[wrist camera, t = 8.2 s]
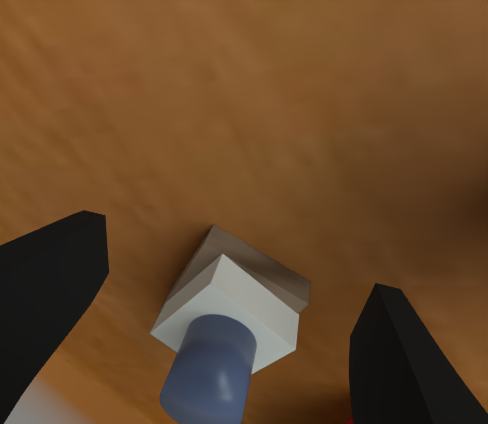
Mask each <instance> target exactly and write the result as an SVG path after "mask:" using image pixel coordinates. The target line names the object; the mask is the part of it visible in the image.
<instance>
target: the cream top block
mask: <svg viewBox="0 0 488 424" xmlns="http://www.w3.org/2000/svg"><path fill="white" fill-rule="evenodd" d="M208 314H218V315H224V316H228V317H231V318H233V319H235V320H237V321H239V322H241V323H242V324H244V325H245V326H246V327H247V328H248V329H249V330H250V331H251V332H252V333H253V335H254V336H255V339H256V342H257V349H256V354H255V359H254V364H253V368H252V373H251V374H253V373H255V372H257V371H258V370H260V369H262V368H264V367H266V366H267V365H269V364H271V363H273V362H275V361H276V360H278V359H280V358H282V357H284V356H285V355H287V354H289V353H291V352H293V351H294V350H296V343H297V332H298V321H299V315H298V314H297V313H296V312H295V311H293V310H292V309H291V308H290V307H288V306H287V305H286V304H285V303H283V302H282V301H281V300H280V299H278V298H277V297H276V296H275V295H274V294H272V293H271V292H270V291H269V290H267V289H266V288H265V287H264V286H262V285H261V284H260V283H259V282H257V281H256V280H255V279H254V278H252V277H251V276H250V275H249V274H247V273H246V272H245V271H244V270H242V269H241V268H240V267H239V266H237V265H236V264H235V263H234V262H232V261H231V260H230V259H229V258H228V257H226V256H225V255H224V254H221V255H220V256H219V257H218V258H217V259H216V260H215V261H213V262H212V263H211V264H210V265H209V266H208V267H206V268H205V269H204V270H203V271H202V272H201V273H200V274H198V275H197V276H196V277H195V278H194V279H193V280H191V281H190V282H189V283H188V284H187V285H186V286H185V287H183V288H182V289H181V290H180V291H179V292H178V293H176V294H175V295H174V296H173V297H172V298H171V299H170V300H168V301H167V302H166V303H165V305H164V307H163V309H162V311H161V313H160V315H159V317H158V318H157V320H156V322H155V324H154V326H153V328H152V330H151V332H150V334H151V335H153V336H154V337H156V338H157V339H159V340H160V341H161V342H163V343H164V344H166V345H167V346H168V347H170V348H171V349H173V350H174V351H176V352H177V353H178V350H179V348H180V346H181V343H182V341H183V339H184V336H185V334H186V331H187V329H188V327H189V325H190V323H191V322H192V321H193V320H194V319H196V318H198V317H200V316H203V315H208Z"/></svg>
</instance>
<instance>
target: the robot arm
mask: <svg viewBox="0 0 488 424" xmlns="http://www.w3.org/2000/svg"><path fill="white" fill-rule="evenodd" d="M108 274H109V265H108V249H107V234H106V219H105V215H101V214H97V213H93V212H89V211H85V210H83V211H81V212H78V213H75V214H73V215H70V216H68V217H65V218H63V219H61V220H58V221H56V222H54V223H51V224H49V225H47V226H45V227H42V228H40V229H38V230H35V231H33V232H31V233H28V234H26V235H24V236H22V237H19V238H17V239H15V240H12V241H10V242H8V243H5V244H3V245H0V424H4V422H5V420H6V419H7V418H8V416H9V415H10V413H11V411H12V410H13V408H14V407H15V405H16V403H17V402H18V400H19V399H20V397H21V396H22V394H23V393H24V391H25V390H26V389H27V387H28V386H29V384H30V383H31V382H32V380H33V379H34V377H35V376H36V375H37V373H38V372H39V371H40V370H41V368H42V367H43V366H44V364H45V363H46V361H48V359H49V358H50V357H51V355H52V354H53V353H54V351H55V350H56V349H57V348H58V346H59V345H60V344H61V342H62V341H63V340H64V339H65V337H66V336H67V335H68V333H69V332H70V331H71V330H72V328H73V327H74V326H75V324H76V323H77V322H78V320H79V319H80V318H81V316H82V315H83V314H84V313H85V311H86V310H87V308H88V307H89V306H90V304H91V303H92V301H93V300H94V298H95V296H96V295H97V293H98V291H99V290H100V288H101V286H102V284H103V282H104V281H105V279H106V277H107V275H108ZM349 383H350V395H351V408H352V419H353V424H488V413H487V412H486V411H485V410H484V408H483V407H482V406H481V404H480V403H479V402H478V400H477V399H476V398H475V396H474V395H473V394H472V393H471V391H470V390H469V389H468V387H467V386H466V385H465V383H464V382H463V380H462V379H461V378H460V376H459V375H458V374H457V372H456V371H455V369H454V368H453V367H452V365H451V364H450V362H449V361H448V359H447V358H446V357H445V355H444V354H443V352H442V351H441V349H440V348H439V346H438V345H437V343H436V342H435V340H434V339H433V338H432V336H431V335H430V333H429V331H428V330H427V328H426V327H425V325H424V324H423V322H422V321H421V319H420V318H419V316H418V315H417V313H416V312H415V310H414V309H413V307H412V306H411V304H410V303H409V301H408V299H407V298H406V296H405V295H404V294H403V292H402V291H401V289H398V288H394V287H390V286H386V285H382V284H378V283H375V286H374V288H373V290H372V292H371V294H370V296H369V298H368V300H367V302H366V304H365V306H364V309H363V311H362V313H361V315H360V317H359V319H358V321H357V323H356V325H355V327H354V329H353V332H352V334H351V336H350V353H349Z"/></svg>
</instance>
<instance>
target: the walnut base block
mask: <svg viewBox="0 0 488 424" xmlns="http://www.w3.org/2000/svg"><path fill="white" fill-rule="evenodd" d="M221 254H224V255H225V256H226V257H228V258H229V259H230V260H231V261H232V262H234V263H235V264H236V265H237V266H239V267H240V268H241V269H242V270H244V271H245V272H246V273H247V274H249V275H250V276H251V277H252V278H254V279H255V280H256V281H257V282H259V283H260V284H261V285H262V286H264V287H265V288H266V289H267V290H269V291H270V292H271V293H272V294H274V295H275V296H276V297H277V298H278V299H280V300H281V301H282V302H283V303H285V304H286V305H287V306H288V307H290V308H291V309H292V310H293V311H295V312H296V313H297V314H299V313H300V312H301V311H302V310H303V309H304V308H305V307H306V306H307V305H308V304H309V296H310V281H309V280H307V279H305V278H304V277H302V276H300V275H299V274H297V273H295V272H294V271H292V270H290V269H288V268H287V267H285V266H283V265H282V264H280V263H278V262H277V261H275V260H273V259H272V258H270V257H268V256H267V255H265V254H263V253H261V252H260V251H258V250H256V249H255V248H253V247H251V246H250V245H248V244H246V243H245V242H243V241H241V240H240V239H238V238H236V237H234V236H233V235H231V234H229V233H228V232H226V231H224V230H223V229H221V228H219V227H218V226H216V225H214V224H213V226H212V228H211V229H210V231H209V232H208V234H207V235H206V237H205V238H204V240H203V241H202V243H201V244H200V246H199V247H198V249H197V250H196V252H195V253H194V255H193V256H192V258H191V259H190V261H189V262H188V264H187V265H186V267H185V268H184V270H183V271H182V273H181V274H180V276H179V278H178V279H177V281H176V282H175V284H174V285H173V287H172V288H171V290H170V291H169V293H168V295H167V297H166V299H165V301H164V302H163V304H162V306H161V308H160V310H159V312H160V313H161V311H162V309H163V307H164V305H165V303H166V302H167V301H168V300H170V299H171V298H172V297H173V296H174V295H175V294H176V293H178V292H179V291H180V290H181V289H182V288H183V287H185V286H186V285H187V284H188V283H189V282H190V281H191V280H193V279H194V278H195V277H196V276H197V275H198V274H200V273H201V272H202V271H203V270H204V269H205V268H206V267H208V266H209V265H210V264H211V263H212V262H213V261H215V260H216V259H217V258H218V257H219V256H220V255H221Z"/></svg>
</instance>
